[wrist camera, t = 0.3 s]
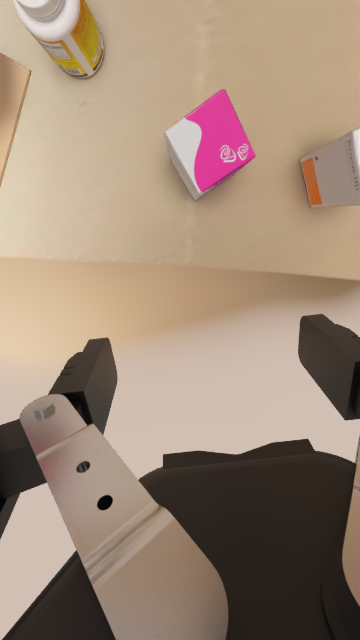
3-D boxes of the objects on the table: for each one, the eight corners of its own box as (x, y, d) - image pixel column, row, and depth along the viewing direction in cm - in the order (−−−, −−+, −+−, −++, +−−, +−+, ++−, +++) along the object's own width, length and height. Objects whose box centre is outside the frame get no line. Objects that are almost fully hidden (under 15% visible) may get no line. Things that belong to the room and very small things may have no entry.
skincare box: (297, 158, 34) (351, 128, 22) (334, 143, 33) (409, 103, 22) (309, 210, 36) (365, 206, 24) (344, 196, 35) (418, 185, 24)
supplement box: (195, 203, 36) (197, 195, 25) (169, 157, 34) (159, 128, 23) (236, 175, 35) (257, 155, 24) (212, 127, 33) (222, 81, 22)
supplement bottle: (90, 5, 30) (43, -98, 20) (113, 66, 31) (80, -2, 22) (44, 31, 31) (-23, -55, 21) (69, 90, 32) (18, 34, 23)
